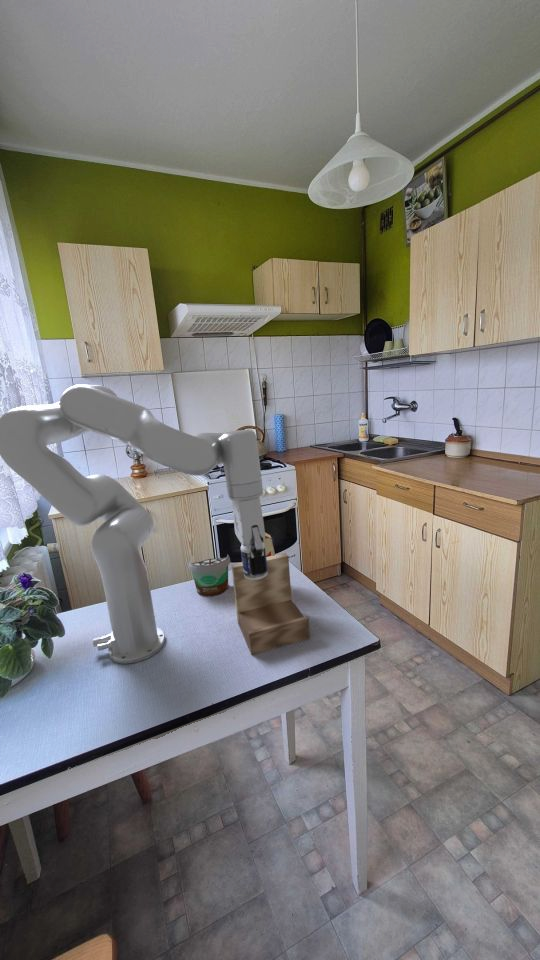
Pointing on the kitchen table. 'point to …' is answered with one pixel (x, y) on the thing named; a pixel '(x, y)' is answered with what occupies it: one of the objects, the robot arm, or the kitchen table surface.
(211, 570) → the food container
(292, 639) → the cardboard holder
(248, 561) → the pill bottle
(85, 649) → the kitchen table surface
